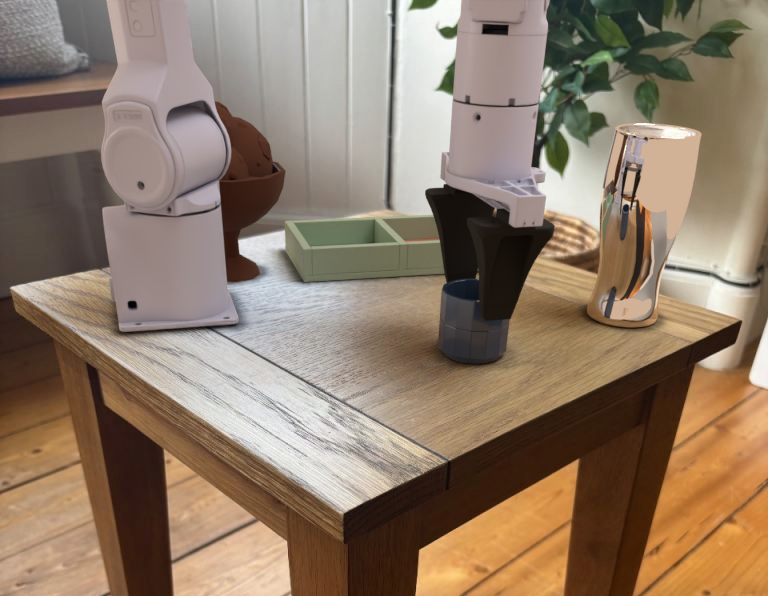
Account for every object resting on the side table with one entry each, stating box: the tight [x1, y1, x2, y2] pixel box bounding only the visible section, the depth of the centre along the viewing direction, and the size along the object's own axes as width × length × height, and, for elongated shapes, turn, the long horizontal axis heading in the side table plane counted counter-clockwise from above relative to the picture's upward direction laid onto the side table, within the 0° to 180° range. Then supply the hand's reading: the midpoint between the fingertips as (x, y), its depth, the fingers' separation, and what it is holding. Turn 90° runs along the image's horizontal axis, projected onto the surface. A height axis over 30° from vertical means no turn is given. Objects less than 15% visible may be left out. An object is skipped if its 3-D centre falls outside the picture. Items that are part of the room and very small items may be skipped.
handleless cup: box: [437, 278, 511, 365], centre depth 63 cm, size 5×5×5 cm
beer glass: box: [586, 122, 703, 329], centre depth 67 cm, size 7×7×15 cm
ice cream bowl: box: [214, 100, 286, 283], centre depth 74 cm, size 11×11×15 cm
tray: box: [284, 214, 479, 283], centre depth 82 cm, size 19×10×3 cm, turn 106°
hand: (477, 300), depth 62 cm, fingers open, 7 cm apart
